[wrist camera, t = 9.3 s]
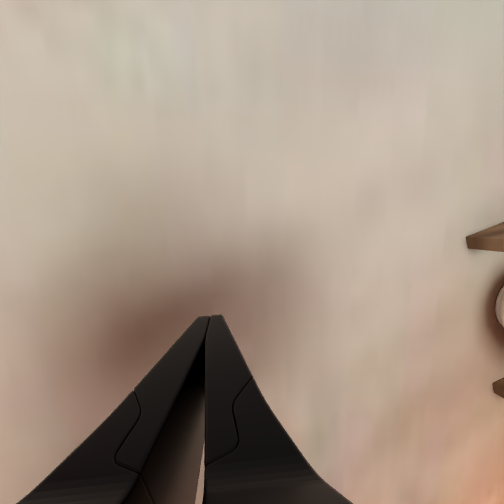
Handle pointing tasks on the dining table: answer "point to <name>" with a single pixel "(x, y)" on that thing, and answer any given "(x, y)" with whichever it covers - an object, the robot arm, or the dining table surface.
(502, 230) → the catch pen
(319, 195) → the dining table surface
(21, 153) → the dining table surface
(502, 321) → the lidded jar
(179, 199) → the dining table surface
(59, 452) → the dining table surface
